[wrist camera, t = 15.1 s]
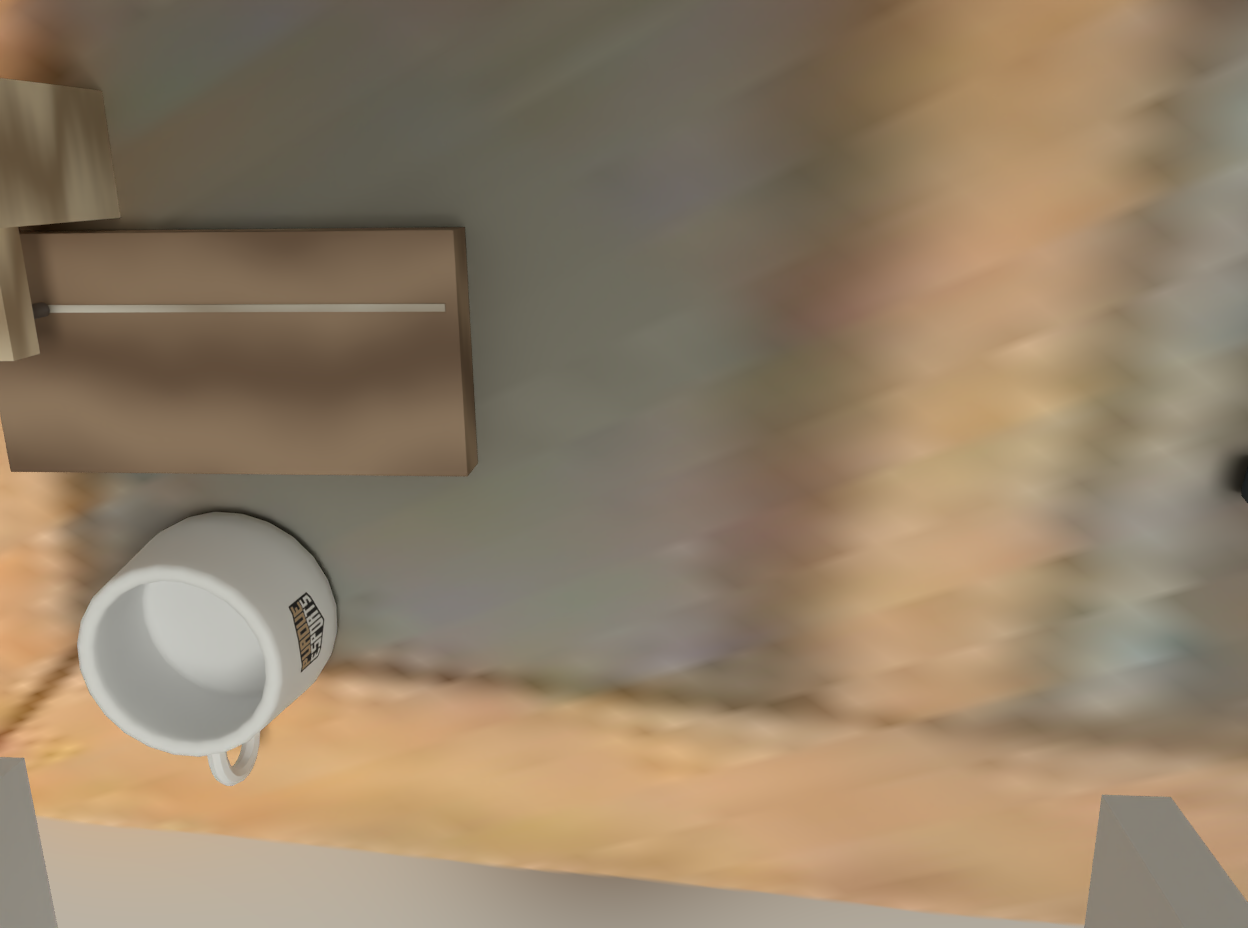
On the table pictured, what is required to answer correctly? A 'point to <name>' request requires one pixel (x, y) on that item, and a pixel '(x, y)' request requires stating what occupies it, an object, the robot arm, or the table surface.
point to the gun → (1245, 487)
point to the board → (245, 353)
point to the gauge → (46, 186)
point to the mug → (208, 637)
